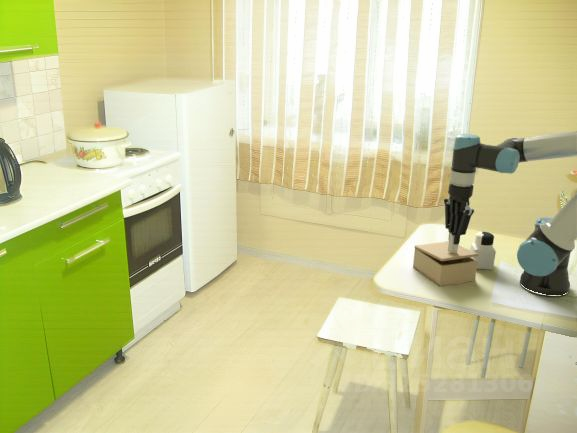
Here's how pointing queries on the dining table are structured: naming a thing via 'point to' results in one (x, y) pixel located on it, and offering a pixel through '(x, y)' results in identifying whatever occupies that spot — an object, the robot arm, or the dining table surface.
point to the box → (445, 269)
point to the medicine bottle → (484, 250)
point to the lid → (445, 251)
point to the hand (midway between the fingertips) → (452, 251)
